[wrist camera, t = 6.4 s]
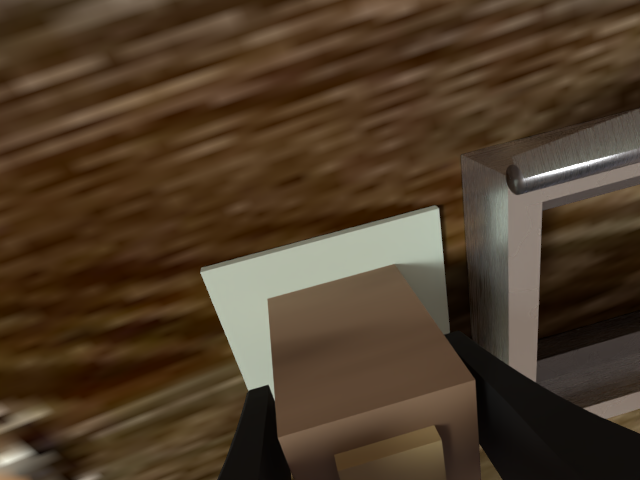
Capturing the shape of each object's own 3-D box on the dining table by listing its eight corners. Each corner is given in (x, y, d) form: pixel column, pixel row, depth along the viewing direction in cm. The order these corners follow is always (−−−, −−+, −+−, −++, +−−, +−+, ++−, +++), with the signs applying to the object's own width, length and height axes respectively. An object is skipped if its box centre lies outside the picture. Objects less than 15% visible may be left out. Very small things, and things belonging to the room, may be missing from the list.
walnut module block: (409, 360, 16) (490, 515, 10) (298, 392, 16) (323, 566, 10) (394, 263, 14) (484, 393, 8) (267, 298, 14) (279, 454, 8)
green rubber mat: (451, 377, 17) (454, 382, 17) (267, 431, 17) (267, 437, 16) (435, 205, 13) (439, 208, 13) (201, 267, 13) (200, 272, 13)
